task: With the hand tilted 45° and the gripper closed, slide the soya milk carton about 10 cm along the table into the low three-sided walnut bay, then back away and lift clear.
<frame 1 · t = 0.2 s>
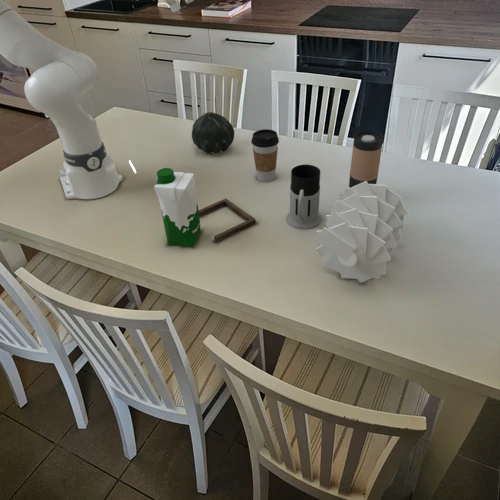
hand: (184, 6, 103), 52 cm above the table, tool tilted 20°, fingers open, 8 cm apart
soya milk: (184, 239, 120), on the table
glass holder: (302, 225, 123), on the table
squash: (214, 149, 161), on the table
travel mug: (360, 201, 131), on the table
bay: (220, 222, 125), on the table
spiral staircase: (357, 257, 111), on the table
coffee cup: (265, 177, 144), on the table
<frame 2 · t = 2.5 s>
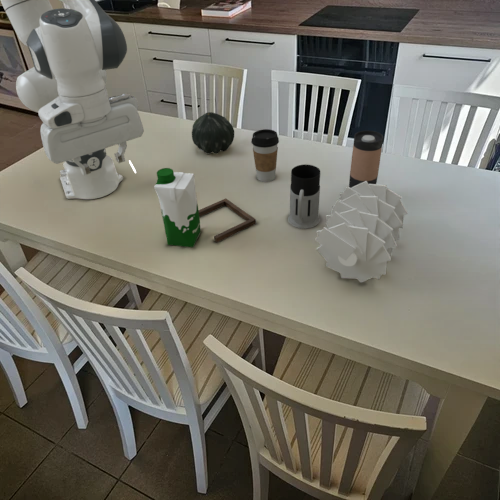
hand: (103, 167, 96), 27 cm above the table, tool pointing down, fingers open, 6 cm apart
nothing on the table moved.
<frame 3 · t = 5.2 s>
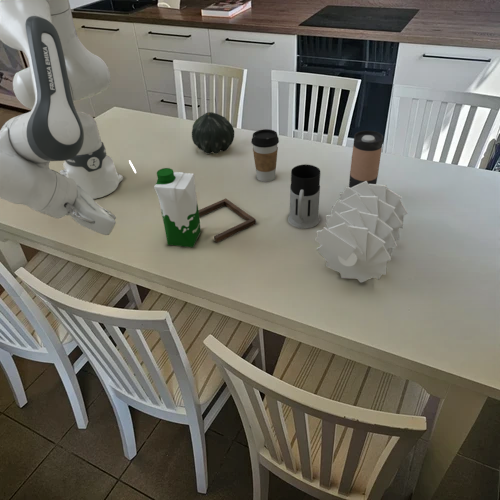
hand: (112, 217, 103), 15 cm above the table, tool tilted 45°, fingers closed
nothing on the table moved.
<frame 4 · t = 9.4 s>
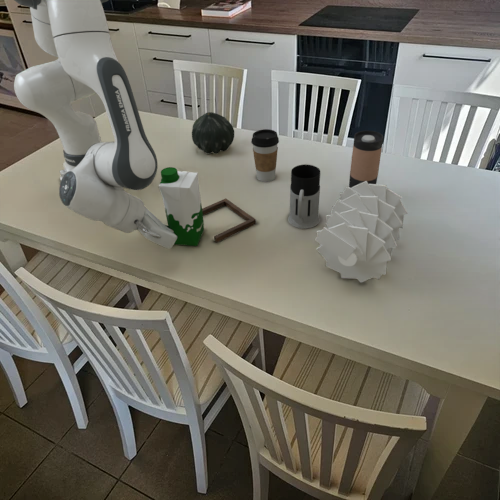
hand: (169, 231, 115), 4 cm above the table, tool tilted 45°, fingers closed, pressing on soya milk
soya milk: (188, 238, 121), on the table, touching gripper
everything else where it was.
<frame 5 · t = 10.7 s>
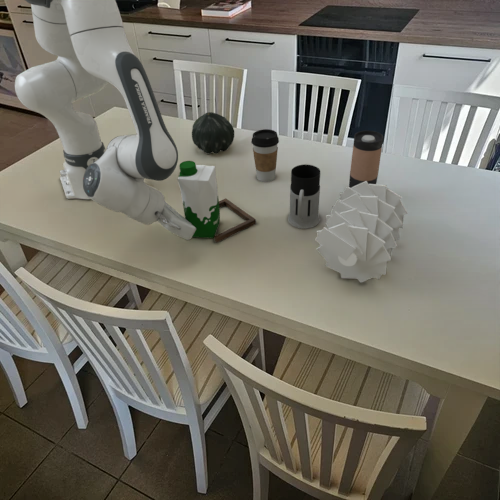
hand: (187, 223, 118), 4 cm above the table, tool tilted 45°, fingers closed, pressing on soya milk
soya milk: (204, 230, 123), on the table, touching gripper
everything else where it was.
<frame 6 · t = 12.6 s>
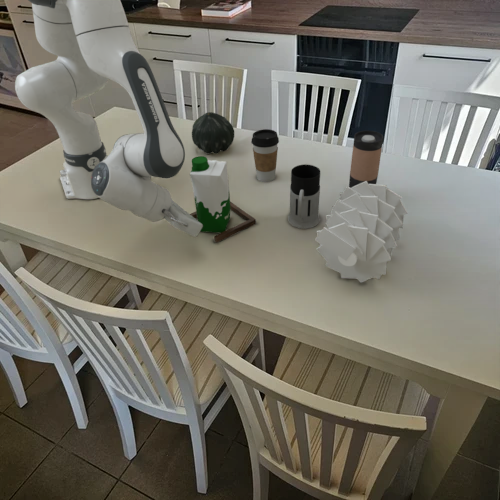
hand: (193, 220, 119), 4 cm above the table, tool tilted 45°, fingers closed
soya milk: (215, 225, 125), on the table
everything else where it was.
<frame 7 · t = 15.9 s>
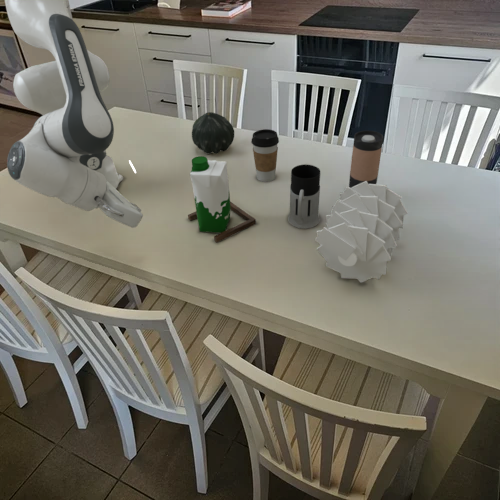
hand: (137, 210, 107), 14 cm above the table, tool tilted 45°, fingers closed
nothing on the table moved.
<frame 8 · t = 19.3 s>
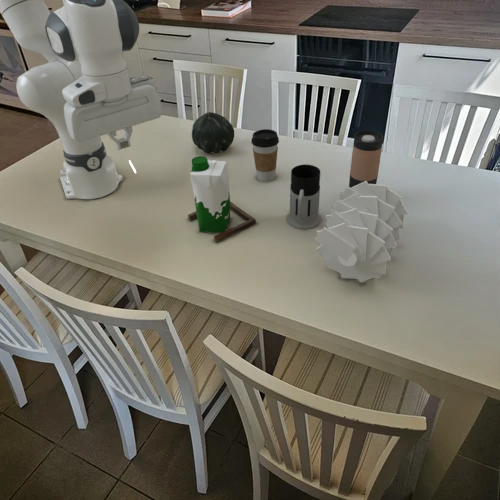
hand: (123, 147, 99), 29 cm above the table, tool pointing down, fingers closed
nothing on the table moved.
at the end: soya milk inside the target area on the bay (1.3 cm from its centre), point 0.0 cm above the bay's base; soya milk tilted 0°; soya milk moved 9.7 cm from its start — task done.
